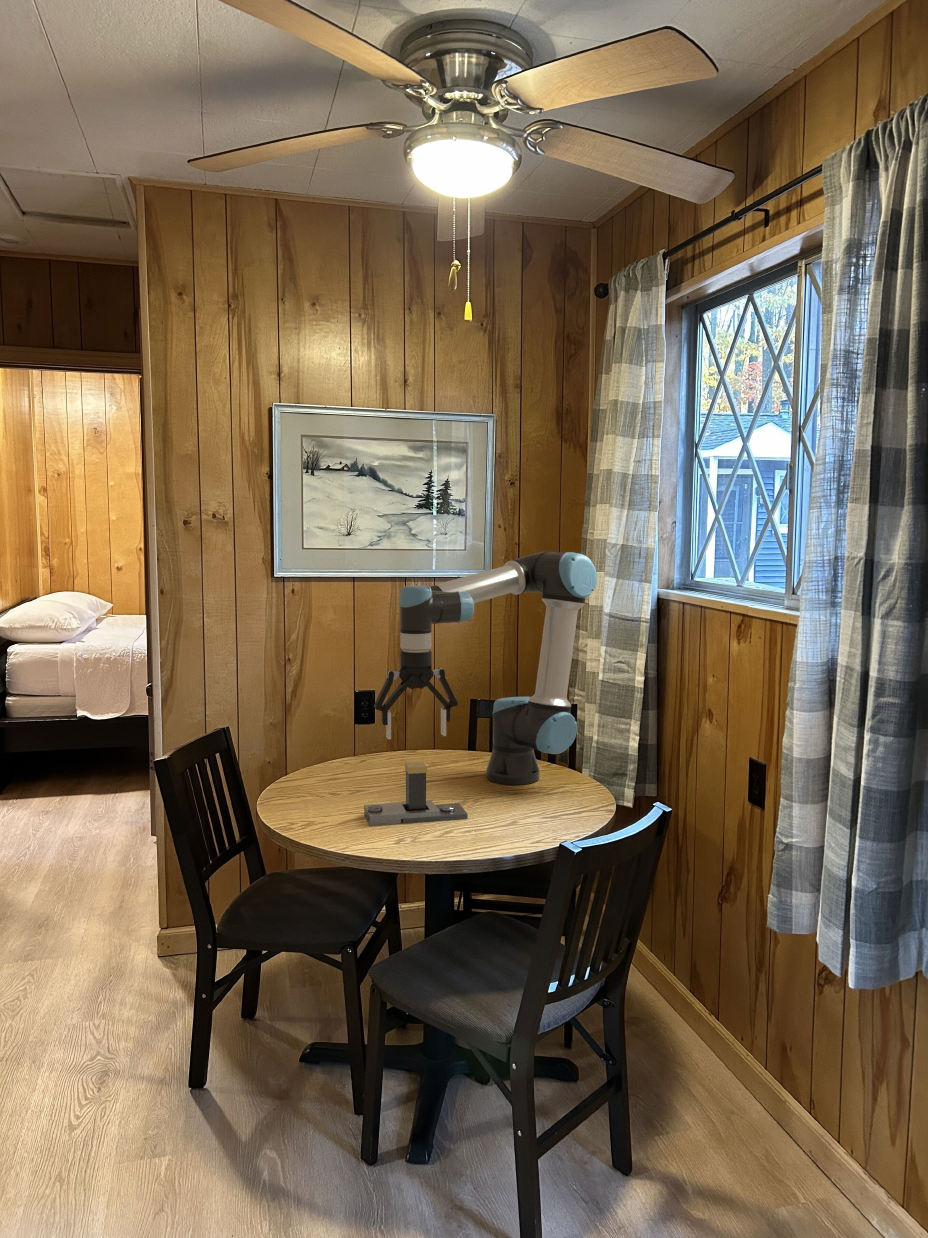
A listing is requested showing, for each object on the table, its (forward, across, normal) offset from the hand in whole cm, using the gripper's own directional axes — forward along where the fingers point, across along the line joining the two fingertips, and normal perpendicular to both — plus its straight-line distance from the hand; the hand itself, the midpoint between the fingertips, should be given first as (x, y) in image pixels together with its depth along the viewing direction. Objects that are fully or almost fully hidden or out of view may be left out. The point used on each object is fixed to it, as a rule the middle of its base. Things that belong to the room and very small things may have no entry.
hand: (416, 736), depth 221 cm
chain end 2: (+20, -4, 0) cm, 20 cm away
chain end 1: (+20, +4, 0) cm, 20 cm away
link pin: (+20, 0, 0) cm, 20 cm away
